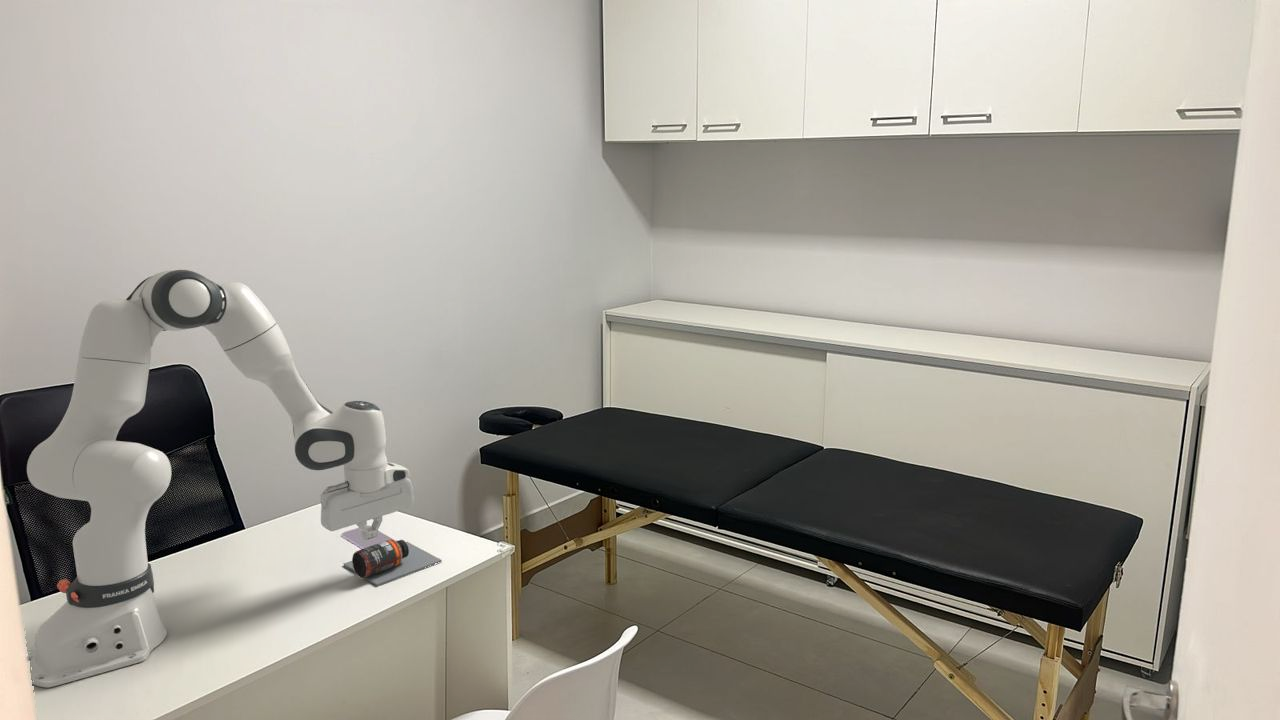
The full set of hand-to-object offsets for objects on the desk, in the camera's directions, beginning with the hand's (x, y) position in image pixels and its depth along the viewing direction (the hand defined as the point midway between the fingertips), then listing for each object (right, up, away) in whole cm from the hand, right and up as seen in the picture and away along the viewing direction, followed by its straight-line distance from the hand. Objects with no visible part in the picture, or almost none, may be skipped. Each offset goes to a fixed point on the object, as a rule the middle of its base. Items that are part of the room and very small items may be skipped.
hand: (370, 537), depth 189 cm
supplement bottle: (-2, -5, -3) cm, 6 cm away
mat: (+3, -7, +6) cm, 10 cm away
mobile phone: (-6, -5, +18) cm, 19 cm away
